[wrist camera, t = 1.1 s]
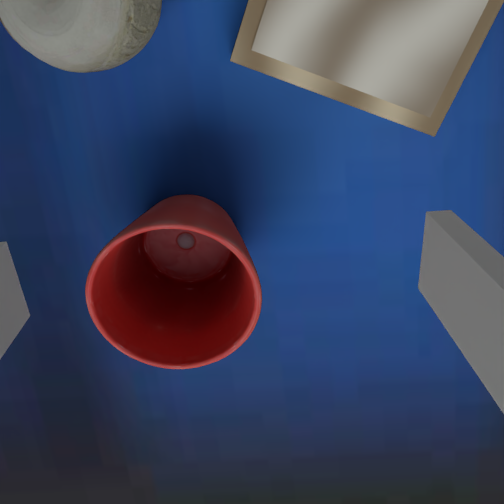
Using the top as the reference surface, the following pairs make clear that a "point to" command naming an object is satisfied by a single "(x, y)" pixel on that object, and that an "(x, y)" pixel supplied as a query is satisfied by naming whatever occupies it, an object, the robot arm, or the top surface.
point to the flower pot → (176, 286)
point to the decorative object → (81, 30)
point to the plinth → (369, 51)
